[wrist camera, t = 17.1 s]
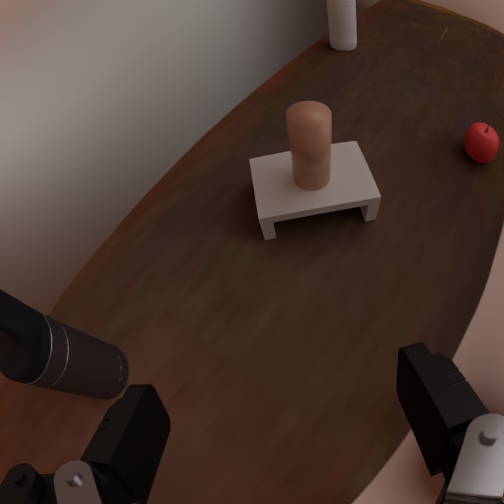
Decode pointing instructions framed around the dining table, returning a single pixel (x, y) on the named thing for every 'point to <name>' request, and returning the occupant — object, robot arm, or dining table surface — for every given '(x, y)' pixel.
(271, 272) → the dining table surface
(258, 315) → the dining table surface
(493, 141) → the apple
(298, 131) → the tan rounded-top cylinder
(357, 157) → the white channel block
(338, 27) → the bottle
